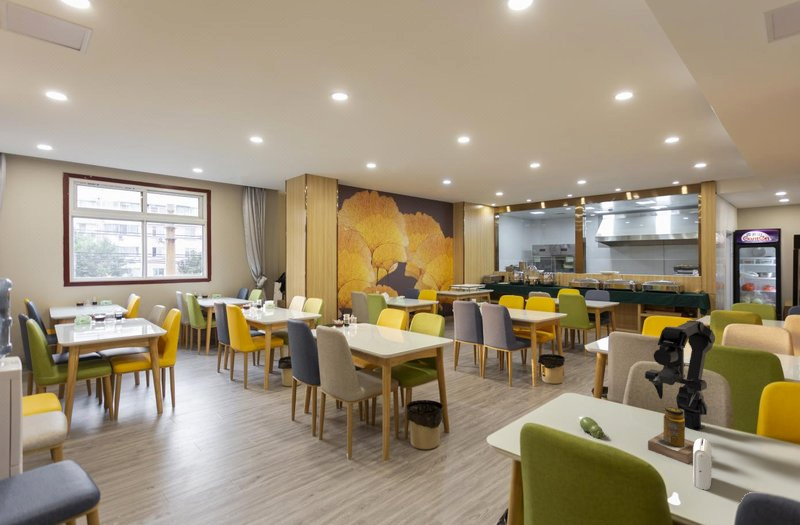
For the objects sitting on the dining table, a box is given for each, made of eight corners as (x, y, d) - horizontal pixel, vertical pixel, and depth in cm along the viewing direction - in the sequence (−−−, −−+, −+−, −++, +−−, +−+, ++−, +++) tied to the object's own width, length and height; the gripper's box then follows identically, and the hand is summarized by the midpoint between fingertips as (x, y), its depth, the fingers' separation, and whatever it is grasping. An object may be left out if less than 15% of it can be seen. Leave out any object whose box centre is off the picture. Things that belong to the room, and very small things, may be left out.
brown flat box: (663, 442, 146) (663, 432, 146) (702, 456, 136) (702, 444, 136) (648, 452, 140) (648, 440, 140) (687, 466, 130) (687, 454, 130)
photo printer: (710, 492, 114) (710, 449, 114) (692, 486, 117) (692, 445, 117) (712, 477, 122) (712, 437, 122) (694, 472, 125) (694, 433, 125)
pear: (589, 413, 158) (608, 428, 149) (587, 425, 159) (606, 441, 149) (577, 415, 157) (596, 429, 147) (576, 427, 157) (594, 442, 148)
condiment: (690, 445, 136) (690, 410, 136) (677, 451, 132) (677, 415, 132) (667, 437, 142) (667, 403, 142) (654, 442, 138) (654, 408, 138)
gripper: (637, 359, 152) (637, 399, 153) (694, 370, 137) (694, 415, 137) (651, 354, 159) (651, 393, 159) (707, 365, 143) (707, 408, 143)
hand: (674, 402), depth 149 cm, fingers open, 9 cm apart
